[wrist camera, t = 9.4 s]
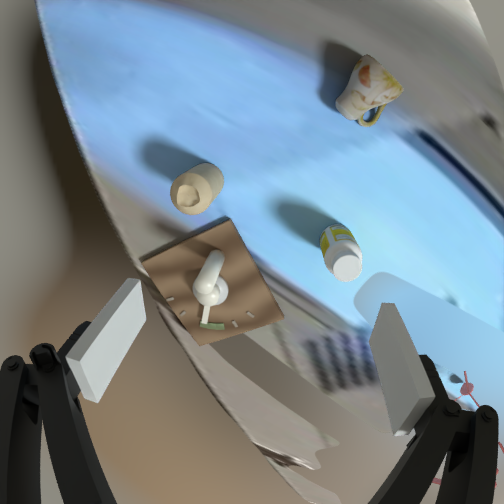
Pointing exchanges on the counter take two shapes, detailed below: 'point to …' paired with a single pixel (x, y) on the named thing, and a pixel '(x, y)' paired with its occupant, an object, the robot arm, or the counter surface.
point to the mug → (367, 91)
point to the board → (233, 271)
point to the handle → (211, 283)
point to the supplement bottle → (341, 252)
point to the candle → (196, 188)
